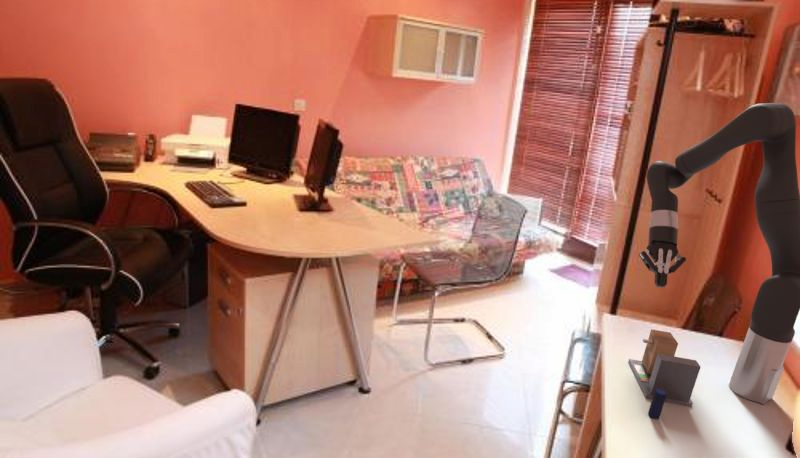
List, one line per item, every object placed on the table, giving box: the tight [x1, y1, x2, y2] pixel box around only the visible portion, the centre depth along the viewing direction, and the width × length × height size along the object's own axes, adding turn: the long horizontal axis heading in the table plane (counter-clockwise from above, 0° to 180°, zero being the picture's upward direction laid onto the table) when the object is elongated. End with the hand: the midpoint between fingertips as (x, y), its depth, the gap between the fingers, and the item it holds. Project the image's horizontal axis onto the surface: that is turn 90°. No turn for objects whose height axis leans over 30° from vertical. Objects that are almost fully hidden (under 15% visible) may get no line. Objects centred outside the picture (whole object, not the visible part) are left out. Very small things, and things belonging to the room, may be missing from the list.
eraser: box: [648, 389, 666, 420], centre depth 125 cm, size 2×2×7 cm
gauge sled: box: [641, 329, 679, 374], centre depth 143 cm, size 6×7×10 cm
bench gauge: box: [627, 354, 701, 407], centre depth 138 cm, size 17×11×11 cm, turn 172°
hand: (660, 287), depth 153 cm, fingers closed
